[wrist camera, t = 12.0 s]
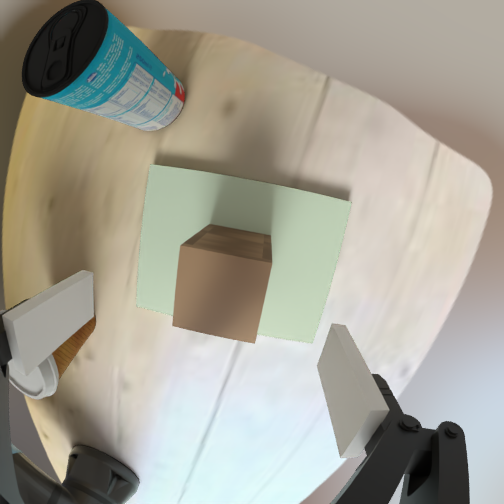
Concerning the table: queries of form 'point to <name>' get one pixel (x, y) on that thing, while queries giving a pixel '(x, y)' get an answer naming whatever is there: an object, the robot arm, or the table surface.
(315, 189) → the table surface
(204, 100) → the table surface
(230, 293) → the box
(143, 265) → the post board
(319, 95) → the table surface
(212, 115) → the table surface
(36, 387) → the disposable coffee cup
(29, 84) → the teal and black cylinder
